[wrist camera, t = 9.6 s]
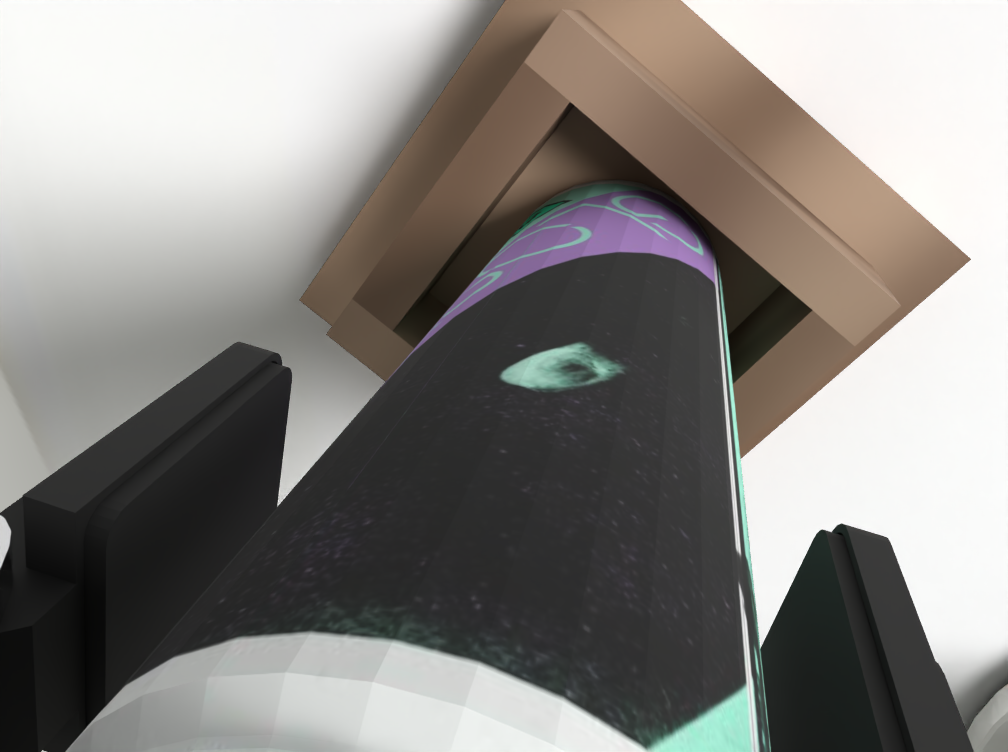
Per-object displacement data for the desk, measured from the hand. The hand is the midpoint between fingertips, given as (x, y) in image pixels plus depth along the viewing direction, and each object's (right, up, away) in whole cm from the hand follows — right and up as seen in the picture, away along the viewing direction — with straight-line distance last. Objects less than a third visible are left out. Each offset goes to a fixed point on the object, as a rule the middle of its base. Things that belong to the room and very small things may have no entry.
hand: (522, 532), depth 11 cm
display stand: (+3, +5, +12) cm, 13 cm away
